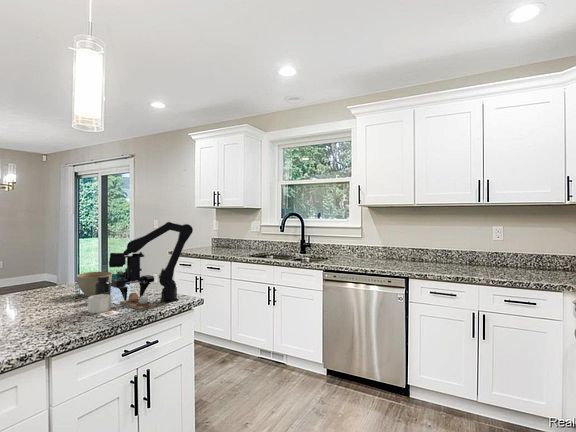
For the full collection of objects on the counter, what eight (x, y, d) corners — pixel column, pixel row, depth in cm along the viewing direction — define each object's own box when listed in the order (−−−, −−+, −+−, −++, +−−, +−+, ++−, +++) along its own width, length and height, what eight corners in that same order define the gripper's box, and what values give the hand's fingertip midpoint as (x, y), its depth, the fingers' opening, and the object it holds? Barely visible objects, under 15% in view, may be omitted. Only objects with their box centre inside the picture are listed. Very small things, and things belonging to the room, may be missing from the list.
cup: (105, 306, 151) (105, 293, 151) (113, 309, 146) (114, 296, 146) (85, 310, 144) (85, 296, 144) (93, 314, 139) (93, 300, 139)
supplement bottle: (103, 303, 157) (103, 278, 157) (91, 302, 158) (91, 277, 158) (113, 299, 163) (114, 275, 163) (102, 298, 165) (102, 274, 165)
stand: (136, 300, 163) (136, 296, 163) (156, 306, 152) (156, 303, 152) (120, 303, 157) (120, 300, 157) (140, 310, 146) (140, 306, 146)
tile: (113, 311, 144) (113, 309, 144) (119, 313, 141) (119, 312, 141) (98, 314, 139) (98, 313, 139) (105, 317, 136) (105, 315, 136)
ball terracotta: (135, 299, 160) (135, 291, 160) (139, 301, 157) (139, 292, 157) (126, 301, 157) (127, 293, 157) (131, 302, 154) (131, 294, 154)
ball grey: (145, 302, 154) (145, 294, 154) (149, 304, 152) (149, 295, 152) (136, 304, 151) (136, 295, 151) (141, 306, 149) (141, 297, 149)
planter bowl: (68, 297, 167) (68, 276, 166) (93, 290, 182) (94, 270, 182) (95, 299, 163) (95, 277, 163) (118, 292, 179) (119, 272, 179)
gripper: (143, 262, 169) (142, 292, 169) (105, 267, 154) (105, 300, 154) (155, 264, 163) (154, 296, 163) (117, 269, 148) (116, 304, 148)
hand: (133, 299), depth 157 cm, fingers open, 7 cm apart
